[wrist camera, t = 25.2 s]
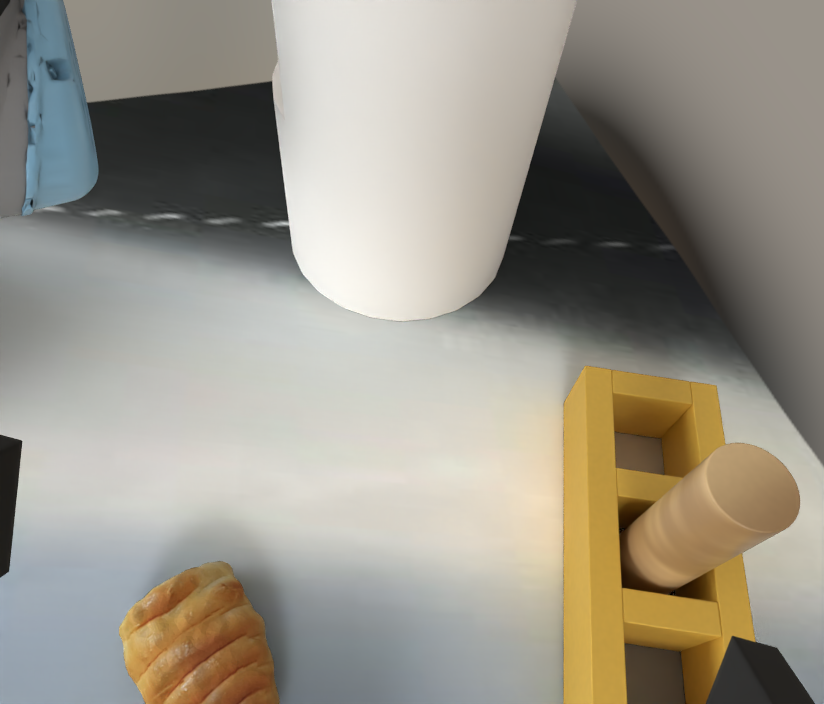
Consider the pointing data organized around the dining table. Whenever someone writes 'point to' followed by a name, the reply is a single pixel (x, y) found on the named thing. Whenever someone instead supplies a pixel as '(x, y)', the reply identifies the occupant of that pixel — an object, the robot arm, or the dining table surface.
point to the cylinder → (409, 141)
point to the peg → (708, 518)
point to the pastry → (199, 642)
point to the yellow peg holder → (618, 508)
